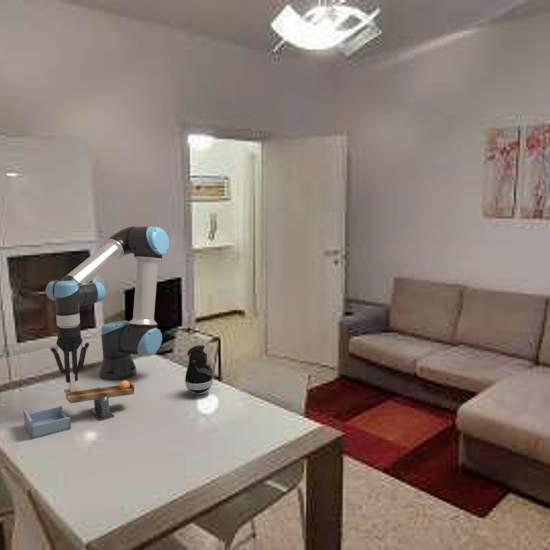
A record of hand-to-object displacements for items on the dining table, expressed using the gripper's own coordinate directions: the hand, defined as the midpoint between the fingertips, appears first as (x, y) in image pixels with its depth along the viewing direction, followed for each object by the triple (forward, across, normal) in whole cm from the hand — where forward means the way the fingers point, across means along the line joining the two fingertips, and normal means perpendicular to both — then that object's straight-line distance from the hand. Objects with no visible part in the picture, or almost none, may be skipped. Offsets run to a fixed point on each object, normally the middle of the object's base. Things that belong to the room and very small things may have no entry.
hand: (72, 390), depth 176 cm
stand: (+8, -8, +7) cm, 13 cm away
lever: (+2, -8, +3) cm, 9 cm away
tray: (+9, +10, +7) cm, 15 cm away
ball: (0, -16, +7) cm, 18 cm away
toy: (+8, -44, +12) cm, 46 cm away
